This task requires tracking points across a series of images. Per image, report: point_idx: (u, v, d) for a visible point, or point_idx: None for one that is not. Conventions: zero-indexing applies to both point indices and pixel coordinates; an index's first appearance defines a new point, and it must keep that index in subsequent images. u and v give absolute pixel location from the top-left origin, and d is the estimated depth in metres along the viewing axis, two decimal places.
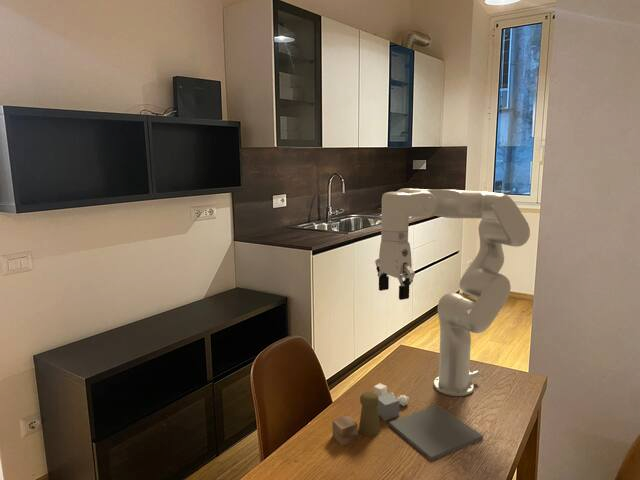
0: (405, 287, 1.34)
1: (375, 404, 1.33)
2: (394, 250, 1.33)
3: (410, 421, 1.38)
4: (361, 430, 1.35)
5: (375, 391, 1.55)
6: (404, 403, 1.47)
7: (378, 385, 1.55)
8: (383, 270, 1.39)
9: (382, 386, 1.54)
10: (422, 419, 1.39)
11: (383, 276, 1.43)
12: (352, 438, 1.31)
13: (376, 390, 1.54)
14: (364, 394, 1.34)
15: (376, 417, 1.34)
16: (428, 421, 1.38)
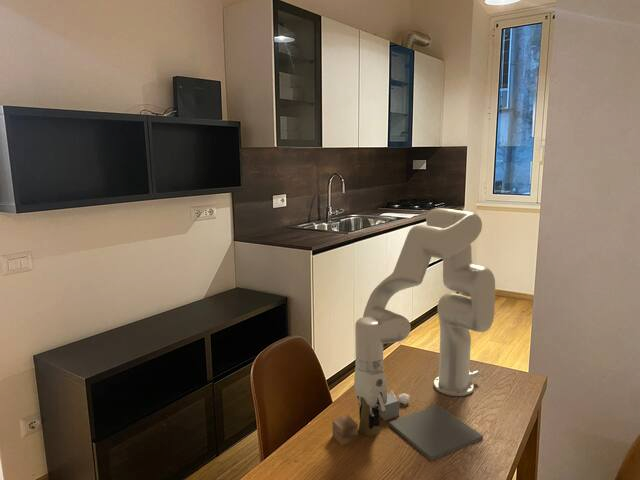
0: (375, 417, 1.32)
1: None
2: (368, 380, 1.29)
3: (410, 421, 1.38)
4: (361, 430, 1.35)
5: None
6: (406, 401, 1.48)
7: None
8: (358, 395, 1.35)
9: None
10: (422, 419, 1.39)
11: None
12: (352, 438, 1.31)
13: None
14: None
15: None
16: (428, 421, 1.38)
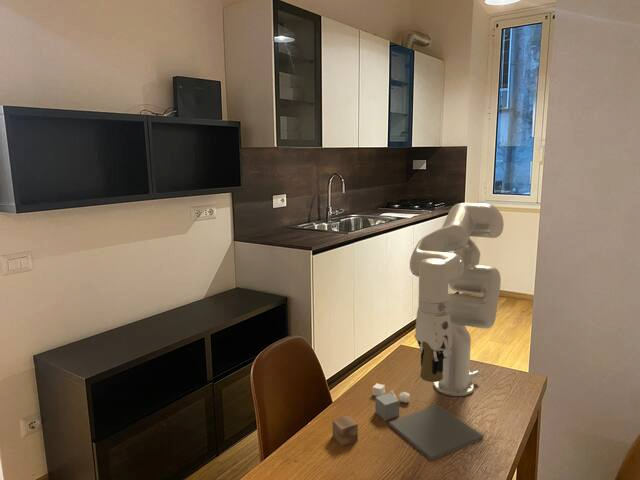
0: (439, 362, 1.27)
1: None
2: (433, 323, 1.24)
3: (410, 421, 1.38)
4: (423, 376, 1.30)
5: (374, 392, 1.54)
6: (407, 400, 1.49)
7: (376, 385, 1.55)
8: (420, 340, 1.31)
9: (380, 386, 1.55)
10: (422, 419, 1.39)
11: None
12: (352, 438, 1.31)
13: (375, 390, 1.54)
14: None
15: None
16: (428, 421, 1.38)
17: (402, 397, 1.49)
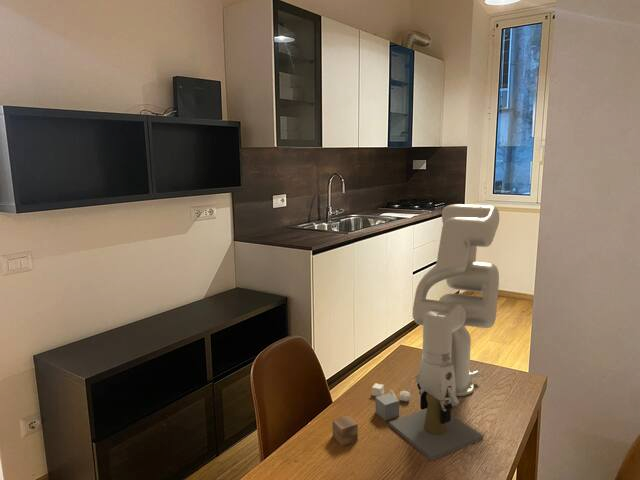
0: (447, 411, 1.28)
1: None
2: (437, 373, 1.27)
3: (410, 421, 1.38)
4: (427, 429, 1.33)
5: (374, 392, 1.54)
6: (407, 399, 1.50)
7: (375, 385, 1.55)
8: (424, 388, 1.33)
9: (380, 385, 1.55)
10: (422, 419, 1.39)
11: (425, 394, 1.36)
12: (352, 438, 1.31)
13: (375, 390, 1.54)
14: None
15: None
16: None
17: (402, 396, 1.50)
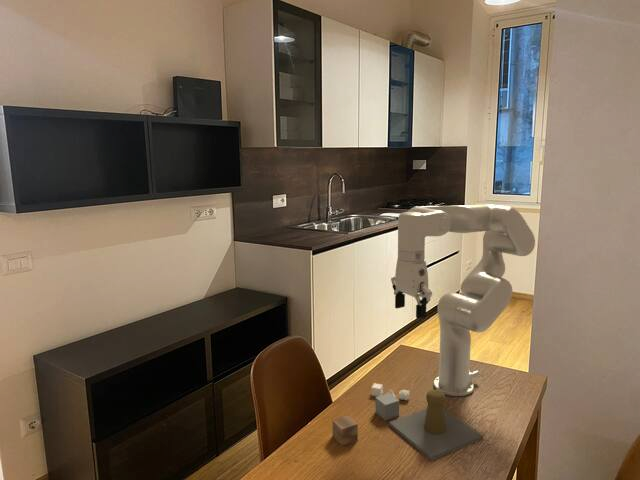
0: (422, 306, 1.36)
1: (443, 402, 1.31)
2: (411, 270, 1.35)
3: (410, 421, 1.38)
4: (427, 429, 1.33)
5: (373, 392, 1.54)
6: (407, 397, 1.51)
7: (374, 385, 1.55)
8: (400, 289, 1.41)
9: (379, 385, 1.55)
10: (422, 419, 1.39)
11: (399, 294, 1.45)
12: (352, 438, 1.31)
13: (374, 390, 1.54)
14: (431, 392, 1.32)
15: (443, 416, 1.32)
16: None
17: (402, 395, 1.50)
